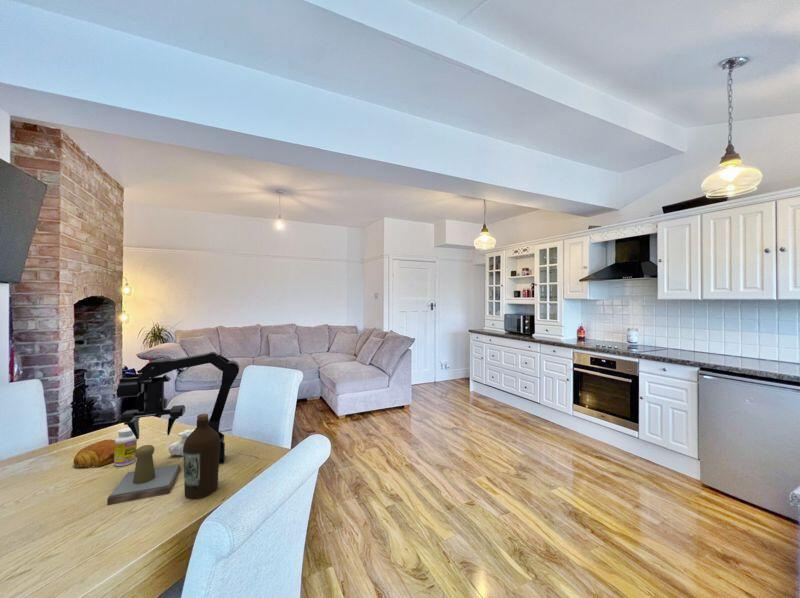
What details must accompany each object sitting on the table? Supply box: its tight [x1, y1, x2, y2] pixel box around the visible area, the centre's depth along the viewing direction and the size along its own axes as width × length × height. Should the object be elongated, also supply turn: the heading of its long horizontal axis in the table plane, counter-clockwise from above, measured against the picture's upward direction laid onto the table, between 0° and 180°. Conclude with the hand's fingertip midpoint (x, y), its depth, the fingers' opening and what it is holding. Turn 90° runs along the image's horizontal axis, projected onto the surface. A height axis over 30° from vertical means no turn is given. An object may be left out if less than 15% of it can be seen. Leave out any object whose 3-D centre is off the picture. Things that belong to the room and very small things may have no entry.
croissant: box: [73, 439, 115, 468], centre depth 128 cm, size 14×16×8 cm
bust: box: [167, 428, 196, 457], centre depth 134 cm, size 12×8×11 cm
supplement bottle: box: [113, 427, 138, 467], centre depth 126 cm, size 7×7×13 cm
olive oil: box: [182, 413, 220, 500], centre depth 108 cm, size 11×11×25 cm
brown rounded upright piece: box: [133, 444, 155, 484], centre depth 110 cm, size 6×6×11 cm
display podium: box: [106, 464, 182, 506], centre depth 110 cm, size 16×16×2 cm
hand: (153, 436), depth 119 cm, fingers open, 9 cm apart
